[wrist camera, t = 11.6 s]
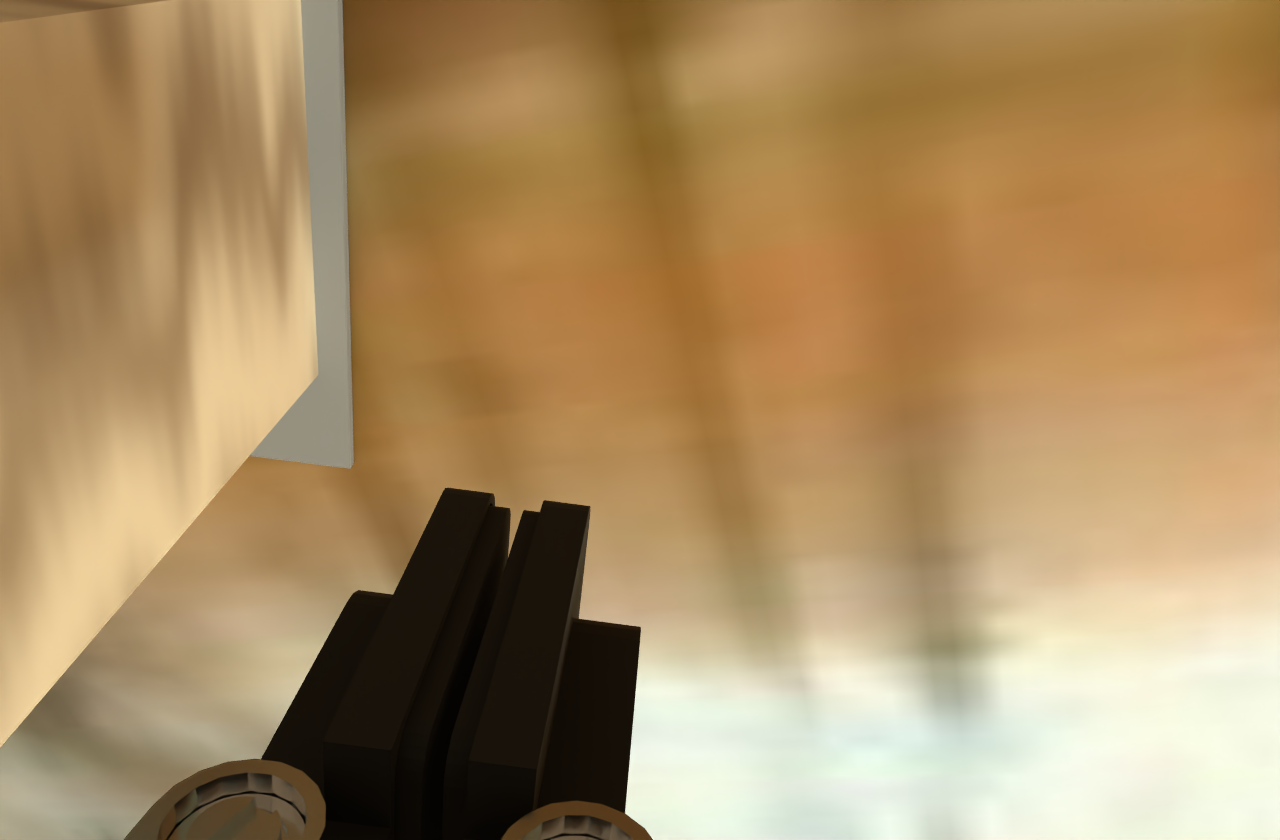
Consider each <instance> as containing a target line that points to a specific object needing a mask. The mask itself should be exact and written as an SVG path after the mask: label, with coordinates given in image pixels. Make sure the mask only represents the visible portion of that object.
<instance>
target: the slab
mask: <svg viewBox="0 0 1280 840" xmlns="http://www.w3.org/2000/svg"><path fill="white" fill-rule="evenodd" d="M317 376H318V356H317V335H316V314H315V293H314V271H313V250H312V229H311V208H310V186H309V165H308V144H307V123H306V101H305V80H304V59H303V38H302V16H301V0H0V747H1V746H2V745H3V744H4V743H5V742H6V740H7V739H8V738H9V737H10V736H11V735H12V733H13V732H14V731H15V730H16V729H17V727H18V726H19V725H20V724H21V723H22V722H23V720H24V719H25V718H26V717H27V716H28V715H29V713H30V712H31V711H32V710H33V709H34V708H35V706H36V705H37V704H38V703H39V702H40V701H41V699H42V698H43V697H44V696H45V695H46V693H47V692H48V691H49V690H50V689H51V688H52V686H53V685H54V684H55V683H56V682H57V681H58V679H59V678H60V677H61V676H62V675H63V674H64V672H65V671H66V670H67V669H68V668H69V667H70V665H71V664H72V663H73V662H74V661H75V660H76V658H77V657H78V656H79V655H80V654H81V652H82V651H83V650H84V649H85V648H86V647H87V645H88V644H89V643H90V642H91V641H92V640H93V638H94V637H95V636H96V635H97V634H98V633H99V631H100V630H101V629H102V628H103V627H104V626H105V624H106V623H107V622H108V621H109V620H110V618H111V617H112V616H113V615H114V614H115V613H116V611H117V610H118V609H119V608H120V607H121V606H122V604H123V603H124V602H125V601H126V600H127V599H128V597H129V596H130V595H131V594H132V593H133V592H134V590H135V589H136V588H137V587H138V586H139V584H140V583H141V582H142V581H143V580H144V579H145V577H146V576H147V575H148V574H149V573H150V572H151V570H152V569H153V568H154V567H155V566H156V565H157V563H158V562H159V561H160V560H161V559H162V558H163V556H164V555H165V554H166V553H167V552H168V550H169V549H170V548H171V547H172V546H173V545H174V543H175V542H176V541H177V540H178V539H179V538H180V536H181V535H182V534H183V533H184V532H185V531H186V529H187V528H188V527H189V526H190V525H191V524H192V522H193V521H194V520H195V519H196V518H197V516H198V515H199V514H200V513H201V512H202V511H203V509H204V508H205V507H206V506H207V505H208V504H209V502H210V501H211V500H212V499H213V498H214V497H215V495H216V494H217V493H218V492H219V491H220V490H221V488H222V487H223V486H224V485H225V484H226V482H227V481H228V480H229V479H230V478H231V477H232V475H233V474H234V473H235V472H236V471H237V470H238V468H239V467H240V466H241V465H242V464H243V463H244V461H245V460H246V459H247V458H248V457H249V456H250V454H251V453H252V452H253V451H254V450H255V448H256V447H257V446H258V445H259V444H260V443H261V441H262V440H263V439H264V438H265V437H266V436H267V434H268V433H269V432H270V431H271V430H272V429H273V427H274V426H275V425H276V424H277V423H278V422H279V420H280V419H281V418H282V417H283V416H284V415H285V413H286V412H287V411H288V410H289V409H290V407H291V406H292V405H293V404H294V403H295V402H296V400H297V399H298V398H299V397H300V396H301V395H302V393H303V392H304V391H305V390H306V389H307V388H308V386H309V385H310V384H311V383H312V382H313V381H314V379H315V378H316V377H317Z"/></svg>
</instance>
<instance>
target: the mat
mask: <svg viewBox="0 0 1280 840" xmlns="http://www.w3.org/2000/svg"><path fill="white" fill-rule="evenodd" d="M301 16H302V38H303V59H304V80H305V101H306V123H307V144H308V165H309V186H310V208H311V229H312V250H313V271H314V293H315V314H316V335H317V356H318V376H317V377H316V378H315V379H314V381H313V382H312V383H311V384H310V385H309V386H308V388H307V389H306V390H305V391H304V392H303V393H302V395H301V396H300V397H299V398H298V399H297V400H296V402H295V403H294V404H293V405H292V406H291V407H290V409H289V410H288V411H287V412H286V413H285V415H284V416H283V417H282V418H281V419H280V420H279V422H278V423H277V424H276V425H275V426H274V427H273V429H272V430H271V431H270V432H269V433H268V434H267V436H266V437H265V438H264V439H263V440H262V441H261V443H260V444H259V445H258V446H257V447H256V448H255V450H254V451H253V452H252V453H251V454H250V456H255V457H262V458H270V459H278V460H286V461H294V462H302V463H309V464H317V465H325V466H333V467H341V468H348V469H350V468H351V467H352V465H353V464H354V448H353V408H352V368H351V328H350V288H349V248H348V208H347V168H346V128H345V88H344V49H343V9H342V0H301Z"/></svg>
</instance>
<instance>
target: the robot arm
mask: <svg viewBox="0 0 1280 840" xmlns="http://www.w3.org/2000/svg"><path fill="white" fill-rule="evenodd" d="M510 516H511V514H510V508H503V507H496V506H495V497H494V494H492V493H484V492H477V491H469V490H461V489H454V488H445V490H444V491H443V493H442V495H441V497H440V499H439V501H438V503H437V505H436V507H435V509H434V511H433V514H432V516H431V518H430V520H429V522H428V524H427V526H426V528H425V530H424V532H423V534H422V536H421V538H420V540H419V543H418V545H417V547H416V549H415V551H414V553H413V555H412V557H411V559H410V561H409V563H408V565H407V567H406V569H405V572H404V574H403V576H402V578H401V580H400V582H399V584H398V586H397V588H396V590H395V592H394V594H393V595H391V594H384V593H376V592H368V591H361V590H358V591H356V592H355V593H353V594H352V596H351V597H350V599H349V600H348V602H347V603H346V605H345V607H344V609H343V611H342V612H341V614H340V616H339V618H338V620H337V621H336V623H335V625H334V627H333V629H332V631H331V632H330V634H329V636H328V638H327V640H326V641H325V643H324V645H323V647H322V649H321V651H320V652H319V654H318V656H317V658H316V660H315V662H314V663H313V665H312V667H311V669H310V671H309V672H308V674H307V676H306V678H305V680H304V682H303V683H302V685H301V687H300V689H299V691H298V692H297V694H296V696H295V698H294V700H293V702H292V703H291V705H290V707H289V709H288V711H287V713H286V714H285V716H284V718H283V720H282V722H281V723H280V725H279V727H278V729H277V731H276V733H275V734H274V736H273V738H272V740H271V742H270V743H269V745H268V747H267V749H266V751H265V753H264V754H263V756H262V758H261V760H260V759H250V760H241V761H231V762H226V763H223V764H220V765H217V766H214V767H211V768H207V769H204V770H201V771H199V772H197V773H196V774H194V775H192V776H190V777H189V778H187V779H185V780H183V781H181V782H180V783H178V784H176V785H175V786H173V787H172V788H171V789H170V790H169V791H168V792H167V793H166V794H165V795H164V796H162V797H161V798H160V799H159V800H158V801H157V802H156V803H155V804H154V805H153V806H152V807H151V808H150V809H149V810H148V812H147V813H146V814H145V815H144V816H143V818H142V819H141V820H140V821H139V822H138V823H137V825H136V826H135V827H134V828H133V829H132V830H131V832H130V833H129V834H128V835H127V836H126V837H125V839H124V840H653V839H652V838H651V836H650V835H649V834H648V832H647V831H646V830H645V828H643V827H642V826H641V825H639V824H638V823H637V822H635V821H634V820H633V819H631V818H630V817H629V816H628V815H626V814H625V805H626V794H627V783H628V771H629V760H630V748H631V737H632V725H633V714H634V703H635V691H636V680H637V668H638V657H639V645H640V633H641V627H637V626H629V625H621V624H614V623H606V622H598V621H591V620H583V619H579V610H580V601H581V592H582V583H583V574H584V565H585V556H586V547H587V538H588V529H589V519H590V506H584V505H576V504H569V503H561V502H553V501H546V500H545V501H543V504H542V507H541V511H540V512H534V511H526V510H524V511H523V514H522V516H521V520H520V523H519V526H518V529H517V532H516V535H515V538H514V541H513V545H512V548H511V551H510V554H509V557H508V548H509V533H510Z"/></svg>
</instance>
